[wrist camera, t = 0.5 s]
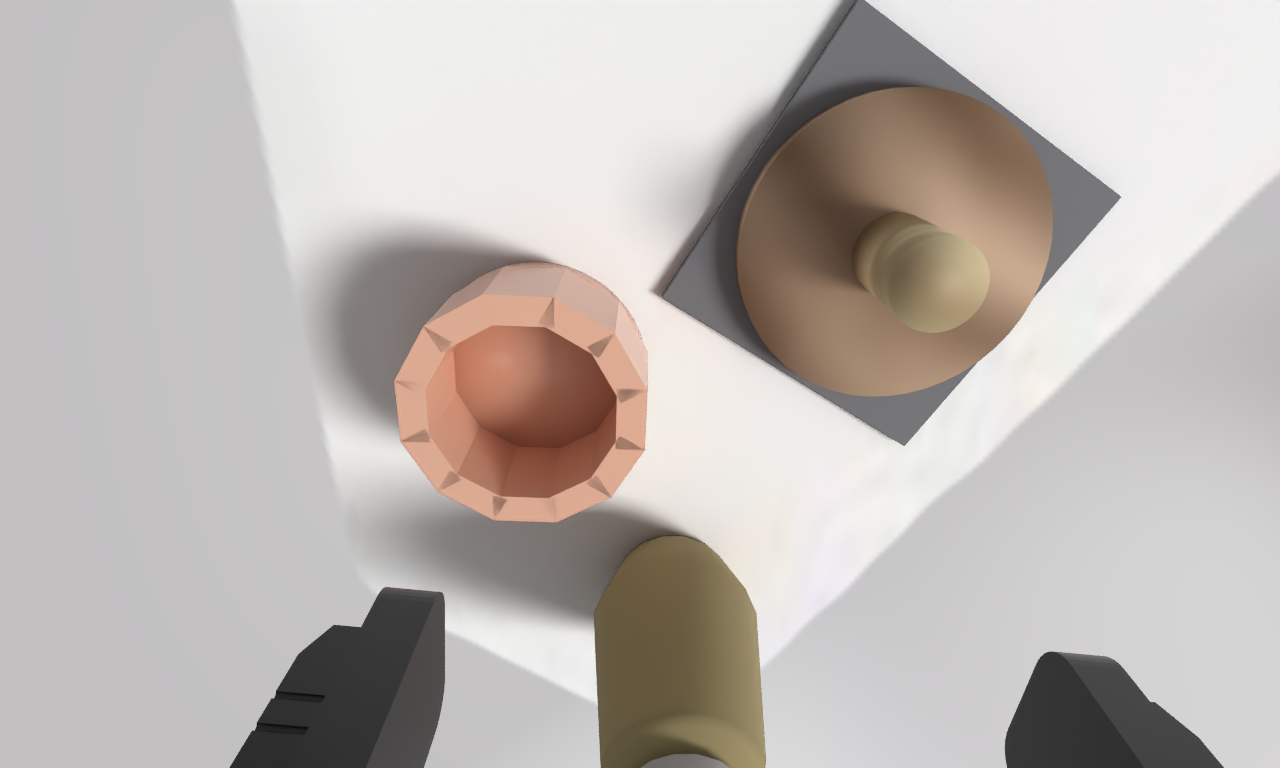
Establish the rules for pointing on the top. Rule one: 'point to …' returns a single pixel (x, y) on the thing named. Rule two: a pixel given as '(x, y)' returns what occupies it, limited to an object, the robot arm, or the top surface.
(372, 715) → the robot arm
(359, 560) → the top surface
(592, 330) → the bowl
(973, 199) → the lid
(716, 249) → the mat
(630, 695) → the squeeze bottle
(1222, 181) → the top surface
